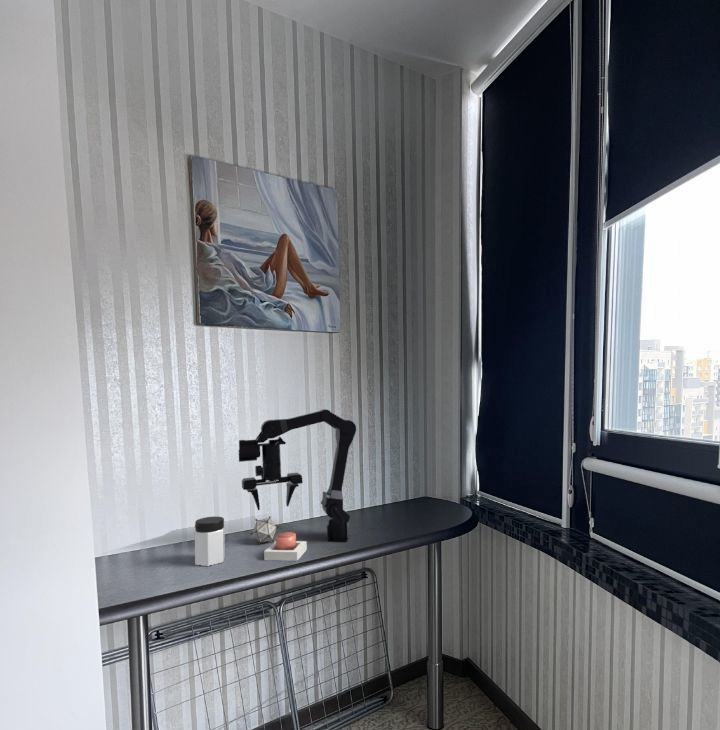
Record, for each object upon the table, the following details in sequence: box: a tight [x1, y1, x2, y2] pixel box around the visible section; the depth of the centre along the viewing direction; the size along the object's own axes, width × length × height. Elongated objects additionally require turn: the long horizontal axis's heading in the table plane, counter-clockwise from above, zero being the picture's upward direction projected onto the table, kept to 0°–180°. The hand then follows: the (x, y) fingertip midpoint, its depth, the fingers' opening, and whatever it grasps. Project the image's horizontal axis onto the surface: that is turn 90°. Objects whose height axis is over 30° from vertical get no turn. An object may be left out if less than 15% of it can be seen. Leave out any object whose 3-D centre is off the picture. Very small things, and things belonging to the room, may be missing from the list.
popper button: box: [275, 531, 297, 550], centre depth 140 cm, size 6×6×4 cm
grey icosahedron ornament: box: [249, 516, 280, 546], centre depth 152 cm, size 9×8×10 cm
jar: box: [194, 516, 226, 567], centre depth 137 cm, size 9×8×12 cm
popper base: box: [263, 540, 308, 562], centre depth 140 cm, size 10×10×2 cm
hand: (273, 508), depth 148 cm, fingers open, 9 cm apart
